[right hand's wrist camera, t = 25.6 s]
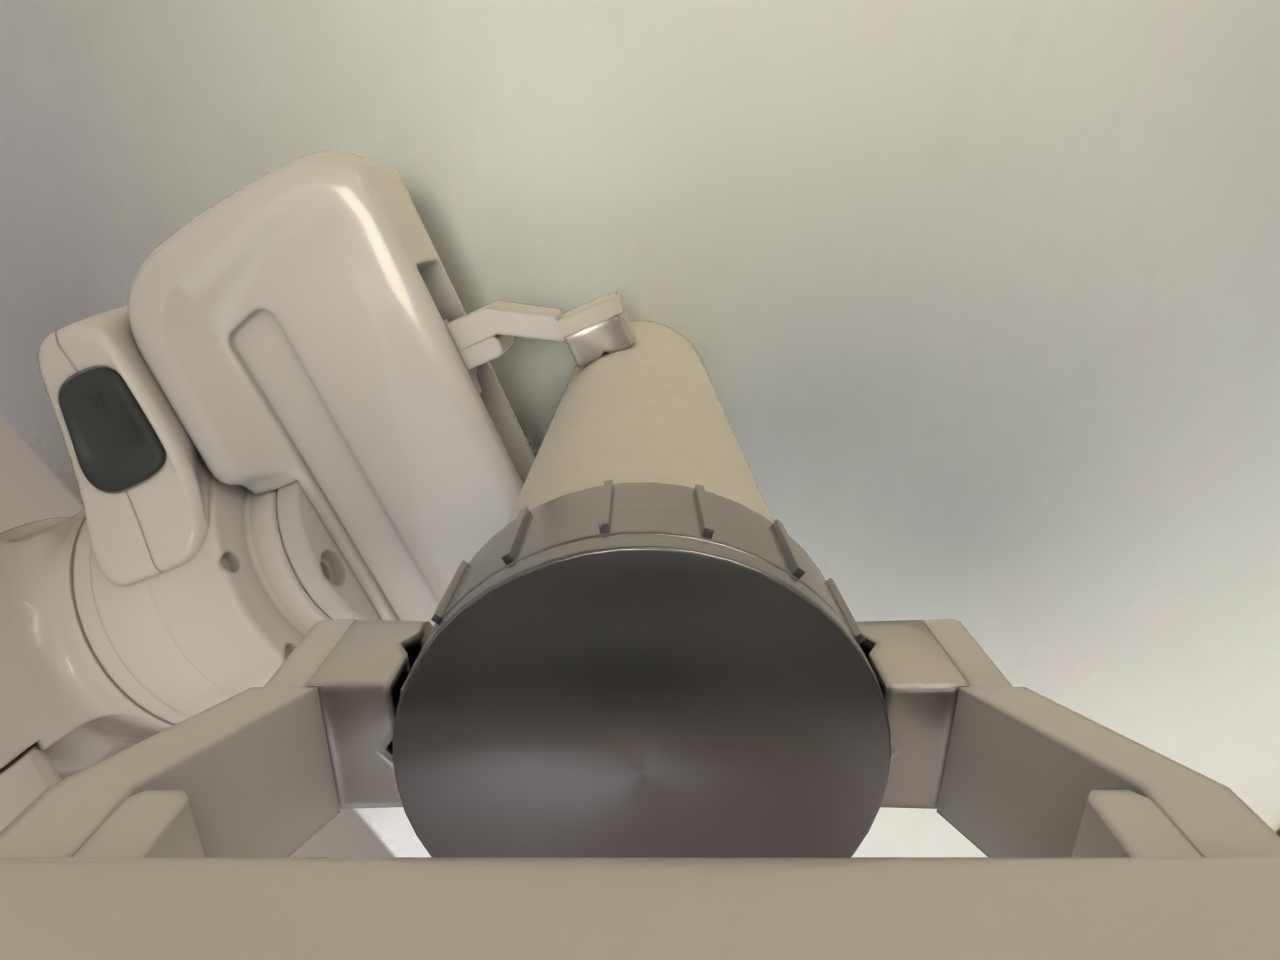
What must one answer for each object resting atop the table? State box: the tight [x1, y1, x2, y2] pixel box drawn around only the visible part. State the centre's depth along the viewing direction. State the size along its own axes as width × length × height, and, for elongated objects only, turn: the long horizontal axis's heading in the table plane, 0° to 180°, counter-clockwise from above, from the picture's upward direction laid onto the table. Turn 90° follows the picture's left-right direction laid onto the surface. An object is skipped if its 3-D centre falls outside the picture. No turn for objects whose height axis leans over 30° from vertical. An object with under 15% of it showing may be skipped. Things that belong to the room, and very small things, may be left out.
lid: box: [393, 480, 891, 858], centre depth 9 cm, size 6×6×2 cm
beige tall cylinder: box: [506, 321, 774, 526], centre depth 18 cm, size 5×5×19 cm
